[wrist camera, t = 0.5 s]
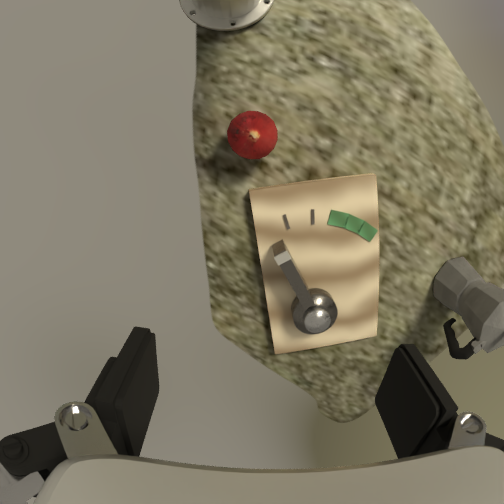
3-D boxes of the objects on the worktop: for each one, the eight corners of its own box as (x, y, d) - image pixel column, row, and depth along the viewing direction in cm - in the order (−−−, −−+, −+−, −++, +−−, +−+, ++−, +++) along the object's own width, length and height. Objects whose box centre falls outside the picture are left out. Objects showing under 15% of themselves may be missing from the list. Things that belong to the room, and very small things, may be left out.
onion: (222, 148, 39) (216, 151, 32) (238, 106, 37) (236, 100, 30) (265, 163, 40) (269, 169, 32) (281, 122, 38) (289, 119, 31)
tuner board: (249, 189, 41) (249, 191, 40) (371, 173, 40) (376, 175, 39) (274, 348, 50) (275, 355, 49) (373, 330, 50) (376, 336, 48)
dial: (339, 313, 46) (347, 328, 42) (302, 331, 47) (306, 348, 43) (298, 230, 41) (303, 241, 38) (255, 253, 42) (256, 265, 39)
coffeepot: (473, 239, 44) (543, 284, 27) (483, 279, 47) (542, 329, 30) (405, 288, 47) (461, 355, 30) (420, 325, 50) (468, 392, 33)
